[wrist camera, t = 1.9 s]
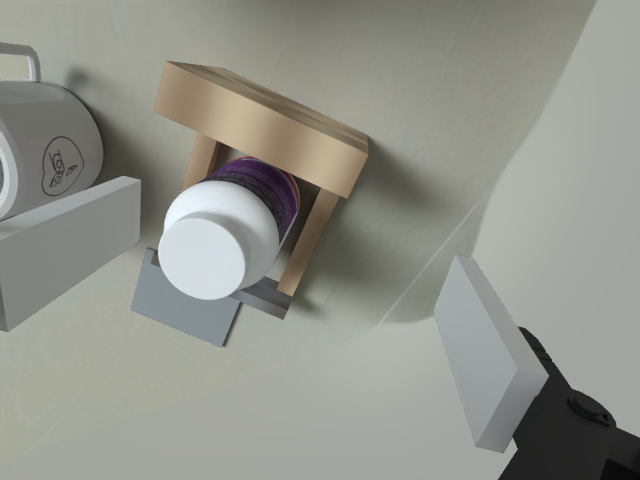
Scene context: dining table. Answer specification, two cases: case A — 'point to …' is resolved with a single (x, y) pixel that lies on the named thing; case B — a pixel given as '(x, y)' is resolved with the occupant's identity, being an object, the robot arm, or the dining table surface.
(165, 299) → the mat
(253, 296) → the wooden bottle holder
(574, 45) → the dining table surface
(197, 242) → the pill bottle
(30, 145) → the mug
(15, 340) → the dining table surface
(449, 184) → the dining table surface
